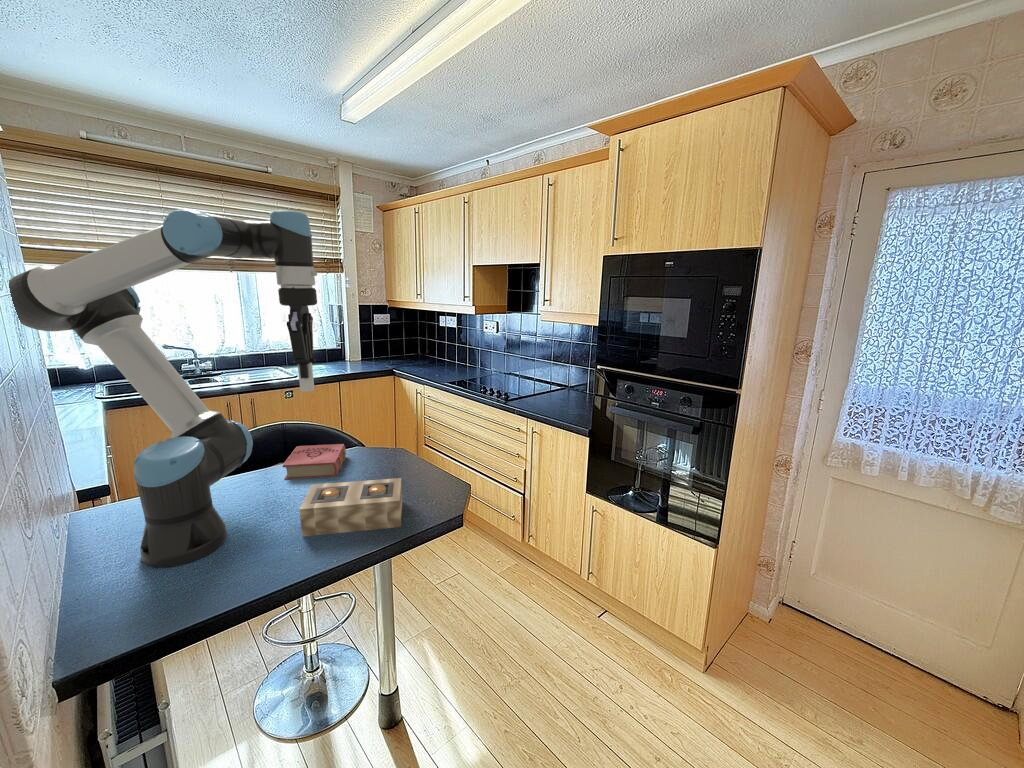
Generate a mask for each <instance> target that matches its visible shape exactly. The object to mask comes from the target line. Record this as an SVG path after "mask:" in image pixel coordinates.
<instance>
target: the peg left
mask: <svg viewBox="0 0 1024 768" xmlns="http://www.w3.org/2000/svg"><path fill="white" fill-rule="evenodd" d="M321 498H322V500H324V499H336V498H340V497H339V490H338V489H336V488H330V489H326V490H324V491H323V492H322V493H321Z"/></svg>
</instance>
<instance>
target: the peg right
mask: <svg viewBox="0 0 1024 768" xmlns="http://www.w3.org/2000/svg"><path fill="white" fill-rule="evenodd" d="M384 494H386V487H385V486H384V485H374V486H372V487H370V488H369V496H372V495H384Z"/></svg>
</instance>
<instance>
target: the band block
mask: <svg viewBox="0 0 1024 768" xmlns="http://www.w3.org/2000/svg"><path fill="white" fill-rule="evenodd" d="M374 485H384V486H385V487H386V494H384V495H372V496H369V488H370V487H372V486H374ZM330 488H336V489H338V490H339V497H340V498H336V499H324V500H322V498H321V493H322V492H323V491H324V490H326V489H330ZM402 488H403V487H402V477H395V478H384V479H383V478H382V479H372V480H371V479H368V480H357V481H355V480H354V481H345V482H331V483H328V482H327V483H317V484H314V483H313V484H311V485H310V487H309V489H308V492H307V493H306V495H305V497H304V499H303V501H302V503H301V504H300V507H299V517H300V519H299V520H300V526H301V536H302V538H303V537H311V536H313V537H314V536H321V535H331V534H333V535H334V534H342V533H353V532H361V531H372V530H384V529H392V528H394V529H395V528H401V527H402V514H403V489H402Z"/></svg>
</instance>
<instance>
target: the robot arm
mask: <svg viewBox="0 0 1024 768" xmlns="http://www.w3.org/2000/svg"><path fill="white" fill-rule="evenodd" d="M311 231H312V229H311V224H310V219H309V216H307V214H305V213H303V212H300V211H293V210H286V209H285V210H281V209H280V210H272V211H271V212H270V213H269V220H264V221H258V220H242V219H236V218H231V217H227V216H221V215H217V214H211V213H207V212H204V211H200V210H198V209H197V210H196V209H195V210H194V209H175V210H173V211H171V212H170V213H168V214H167V216H166V218H165V219H164V220H163V222H162V225H160V226H157V227H155V228H152V229H149V230H147V231H145V232H141V233H139V234H137V235H134V236H132V237H129V238H127V239H124V240H121V241H118V242H116V243H114V244H111V245H109V246H106V247H103V248H101V249H98V250H96V251H93V252H91V253H88V254H85V255H83V256H80V257H77V258H75V259H72V260H70V261H67V262H65V263H62V264H60V265H57V266H55V267H54V266H50V265H49V266H48V265H41V266H37V267H35V268H32V269H28V270H27V271H24V272H21V273H19V274H17V275H15V276H12V277H11V278H10V279H9V280H8V281H9V288H10V293H11V297H12V301H13V304H14V307H15V310H16V312H17V315H18V318H19V320H20V322H21V325H23V326H25V327H27V328H30V329H34V330H37V331H43V332H64V331H74V333H75V334H76V335H77V336H78V337H79V338H80V340H81V341H82V342H84V344H87V345H93V346H97V347H98V348H99V349H100V350H101V351H102V352H103V353H104V354H105V356H106V357H107V358H108V359H109V360H110V362H111V363H112V364H113V365H114V366H115V368H117V370H118V371H119V373H121V374H122V375H123V377H124V378H125V379H126V380H127V382H129V384H130V385H131V386H132V387H133V388H134V389H135V391H136V392H137V393H138V394H139V395H140V396H141V398H142V399H143V400H144V401H145V402H146V403H147V405H148V406H149V407H150V408H151V409H152V410H153V412H154V413H155V414H156V415H157V416H158V417H159V418H160V420H161V421H162V422H163V423H164V424H165V425H166V427H167V428H168V429H169V430H170V431H171V436H170V438H167V439H166V440H164V441H162V440H161V441H158V442H155V443H153V444H150V445H148V446H147V447H145V448H144V449H142V450H141V451H140V452H138V454H137V455H136V457H135V458H134V461H133V462H134V463H133V464H134V465H133V466H134V467H133V468H134V479H135V482H136V486H137V491H138V494H139V498H140V504H141V507H142V513H143V516H144V521H145V524H144V525H145V526H144V530H143V533H142V539H141V544H140V547H139V549H140V550H139V551H140V552H139V553H140V557H141V561H142V562H143V563H144V565H147V566H149V567H152V568H168V567H175V566H180V565H183V564H188V563H191V562H193V561H196V560H198V559H201V558H203V557H206V556H207V555H209V554H211V553H212V552H214V551H216V550H217V549H218V548H220V547H221V546H222V544H223V543H225V541H226V539H227V536H228V532H227V525H226V523H225V522H224V520H223V519H222V517H221V515H220V514H219V513H218V511H217V509H216V508H215V507H214V504H213V499H212V493H211V486H212V485H214V484H215V483H217V482H218V481H220V480H222V479H223V478H225V477H226V476H228V474H231V473H232V472H233V471H235V470H237V469H238V468H240V467H241V466H242V465H243V464H244V463H245V462H246V461H247V460H248V458H250V456H251V454H252V452H253V446H254V442H253V441H254V440H253V437H252V434H251V432H250V430H249V429H248V428H247V427H246V426H245V425H244V424H243V423H241V422H238V421H235V420H229V419H226V417H225V416H224V415H223V414H222V413H221V412H220V411H216V410H210V409H209V408H208V407H207V406H206V405H205V404H204V402H203V401H202V399H200V397H199V396H198V395H197V394H196V393H195V391H194V390H193V388H191V386H190V385H189V384H188V383H187V382H186V380H185V379H184V378H183V377H182V375H181V374H180V373H179V372H178V371H177V369H176V368H175V367H174V365H172V363H171V362H170V361H169V360H168V358H167V357H166V356H165V355H164V354H163V353H162V351H161V350H160V349H159V348H158V347H157V345H156V344H155V343H154V342H153V340H152V339H151V338H150V337H149V336H148V334H147V333H146V332H145V331H144V329H143V328H142V323H143V317H142V315H141V314H140V313H141V305H140V303H141V301H140V297H139V295H138V293H137V292H136V291H135V289H134V288H133V286H137V285H138V284H141V283H142V284H143V283H145V282H146V281H150V280H152V279H155V278H158V277H160V276H162V275H165V274H167V273H170V272H173V271H174V270H178V269H180V268H183V267H186V266H187V265H190V264H193V263H196V262H199V261H202V260H205V259H207V258H210V257H214V256H215V257H216V256H217V257H224V258H231V259H243V258H244V259H274V264H275V265H274V266H275V273H276V283H277V285H278V286H280V287H279V288H278V289H277V292H278V301H279V305H281V306H284V307H285V306H287V307H288V306H289V314H287V317H288V318H287V320H288V321H287V320H286V327H287V329H288V333H289V338H290V339H289V340H290V346H291V350H292V356H293V362H292V363H293V365H297V371H298V379H299V381H298V382H299V389H300V393H301V392H302V393H304V392H306V393H307V392H314V391H315V383H314V382H315V381H314V372H313V370H314V369H313V363H315V362H316V358H315V357H314V356H315V355H314V354H315V353H314V335H313V334H314V330H313V323H314V318H313V316H312V313H311V312H310V309H309V306H316V305H317V304H318V297H317V295H318V294H317V289H316V288H315V287H313V286H315V285H316V278H315V277H316V276H318V272H317V271H315V269H314V266H315V263H314V255H313V254H314V253H313V239H312V237H313V235H312V232H311Z"/></svg>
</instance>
